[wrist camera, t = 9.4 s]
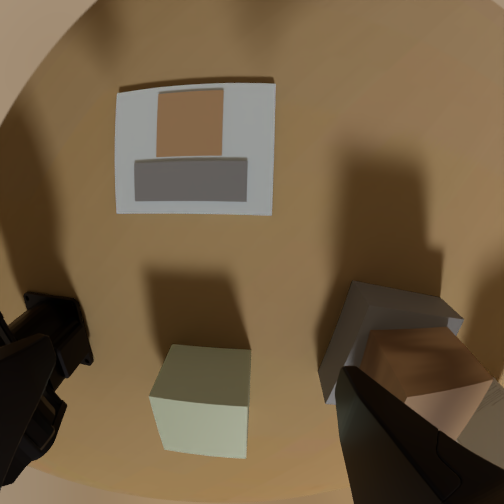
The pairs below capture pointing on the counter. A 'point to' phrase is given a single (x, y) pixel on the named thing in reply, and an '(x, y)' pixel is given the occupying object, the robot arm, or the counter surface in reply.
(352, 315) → the charcoal block
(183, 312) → the counter surface
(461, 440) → the skincare box
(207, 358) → the sage cube
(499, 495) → the robot arm
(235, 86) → the card
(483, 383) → the walnut cube
